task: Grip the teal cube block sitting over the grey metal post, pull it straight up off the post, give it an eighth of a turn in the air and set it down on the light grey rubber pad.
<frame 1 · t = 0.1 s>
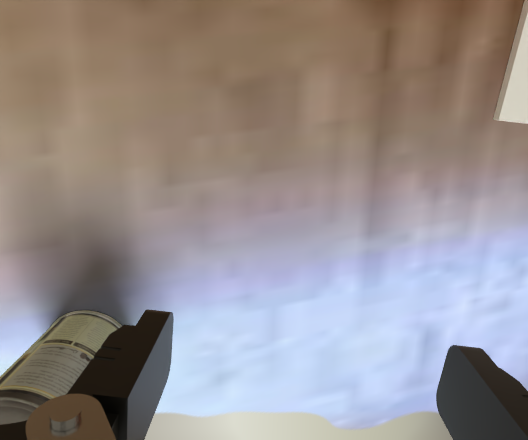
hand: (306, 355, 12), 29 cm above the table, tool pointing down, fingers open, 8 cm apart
coffee can: (92, 348, 46), on the table
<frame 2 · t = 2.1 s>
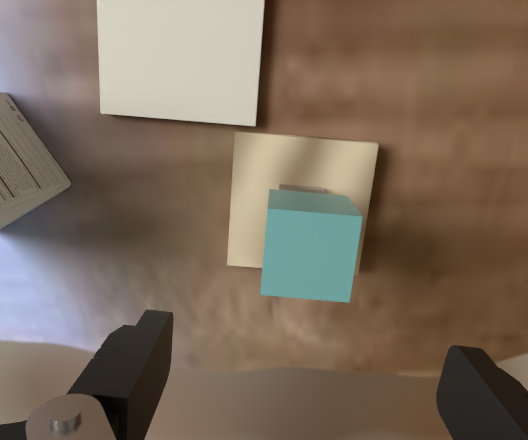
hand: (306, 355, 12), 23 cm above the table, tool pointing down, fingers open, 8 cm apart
supplement box: (2, 165, 34), on the table
teal cube block: (303, 229, 27), point 7 cm above the table, touching post stand
post stand: (298, 202, 34), on the table
pad: (182, 37, 30), on the table
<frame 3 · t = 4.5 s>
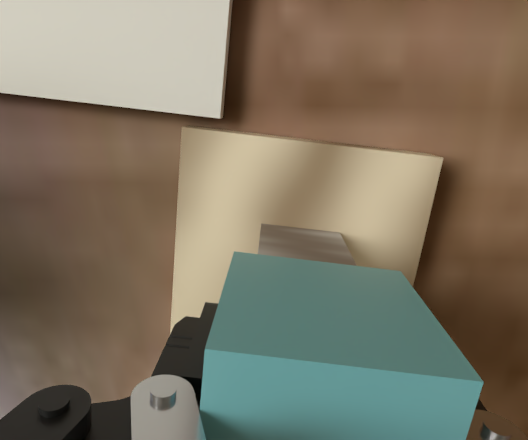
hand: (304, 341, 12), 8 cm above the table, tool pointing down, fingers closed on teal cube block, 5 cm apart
teal cube block: (305, 334, 13), point 7 cm above the table, touching gripper, post stand
post stand: (293, 252, 20), on the table
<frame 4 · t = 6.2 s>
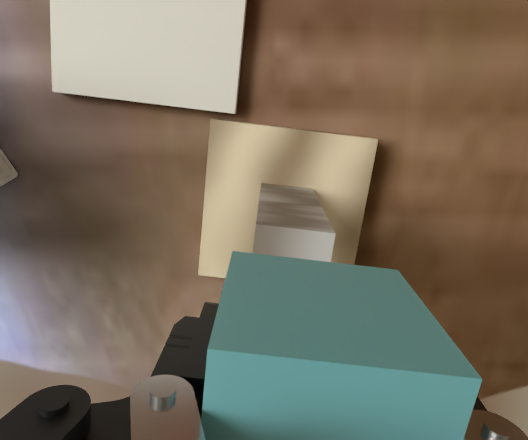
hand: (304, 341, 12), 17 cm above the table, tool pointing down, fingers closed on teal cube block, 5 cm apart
teal cube block: (303, 333, 13), point 17 cm above the table, touching gripper
post stand: (283, 205, 29), on the table
pad: (152, 5, 26), on the table
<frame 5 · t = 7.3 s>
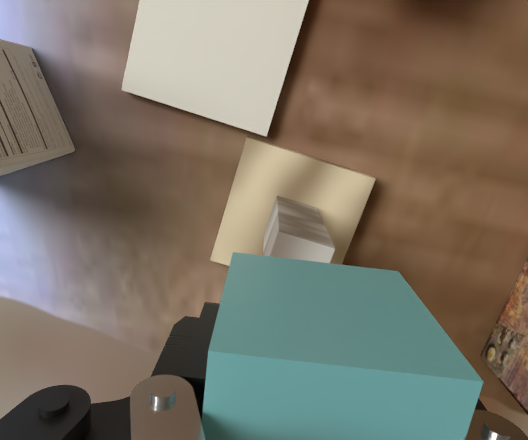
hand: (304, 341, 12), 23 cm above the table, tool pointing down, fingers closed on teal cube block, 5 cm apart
supplement box: (9, 116, 34), on the table
teal cube block: (303, 334, 13), point 23 cm above the table, touching gripper
post stand: (289, 216, 35), on the table
pad: (216, 37, 31), on the table
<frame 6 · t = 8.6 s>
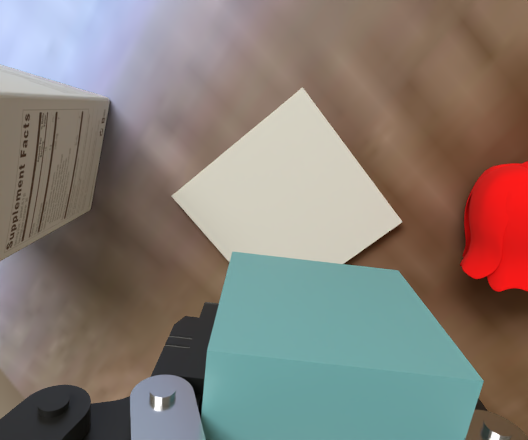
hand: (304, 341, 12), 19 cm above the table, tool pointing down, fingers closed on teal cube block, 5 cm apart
supplement box: (44, 140, 30), on the table
teal cube block: (303, 334, 13), point 18 cm above the table, touching gripper
flower: (495, 207, 30), on the table
pad: (286, 205, 30), on the table
when the fingers open (3 cm above the table, at t = 11.8 s): teal cube block drops 2 cm, resting on pad.
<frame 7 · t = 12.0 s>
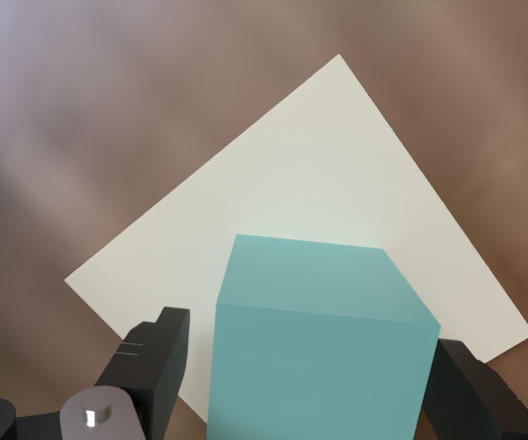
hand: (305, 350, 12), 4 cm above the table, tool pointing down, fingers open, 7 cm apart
teal cube block: (300, 306, 14), point 1 cm above the table, touching pad
pad: (298, 294, 15), on the table
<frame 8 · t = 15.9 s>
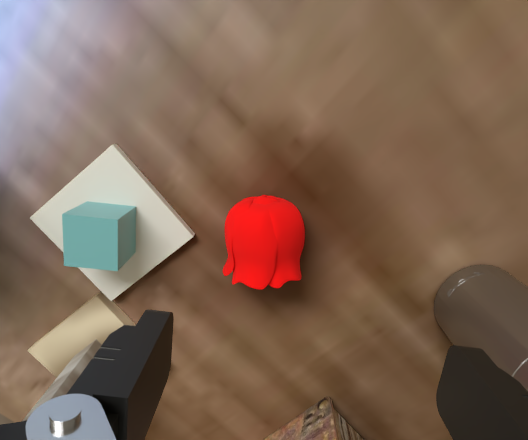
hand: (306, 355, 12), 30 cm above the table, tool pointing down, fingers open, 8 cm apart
teal cube block: (111, 227, 41), point 1 cm above the table, touching pad
flower: (263, 225, 42), on the table
post stand: (101, 350, 47), on the table
pad: (115, 224, 42), on the table
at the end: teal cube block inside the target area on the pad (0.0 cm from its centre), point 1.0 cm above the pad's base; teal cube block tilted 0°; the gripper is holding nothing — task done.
